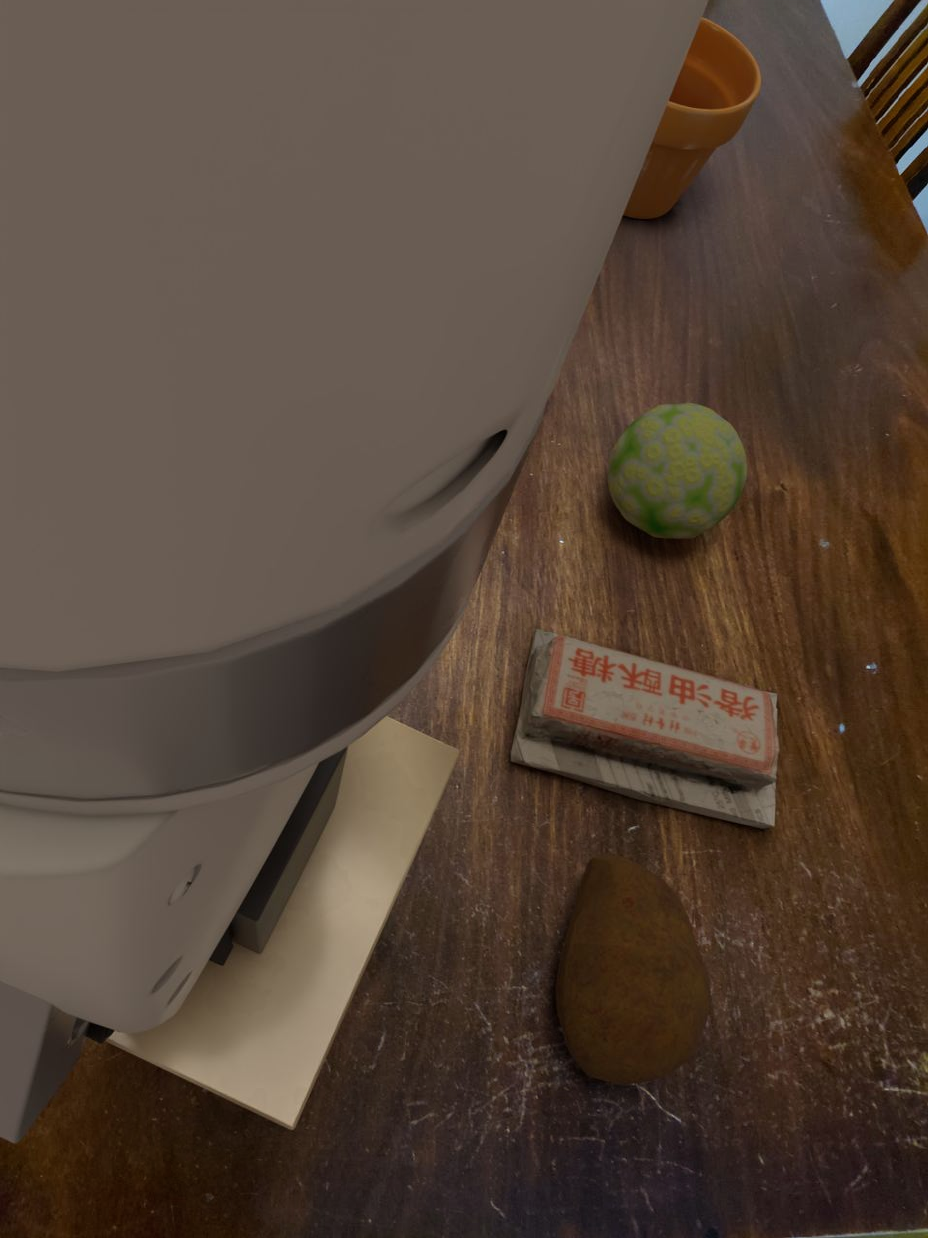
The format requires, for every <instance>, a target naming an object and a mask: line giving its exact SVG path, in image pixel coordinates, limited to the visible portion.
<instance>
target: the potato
mask: <svg viewBox="0 0 928 1238" xmlns="http://www.w3.org/2000/svg"><path fill="white" fill-rule="evenodd" d="M585 866H586V867H585V869H584V873H583V876H582V878H581V882H580V885H579V889H578V891H577V896H576V899H575V903H574V906H573V910H572V913H571V916H570V921H569V923H568V926H567V930H566V933H565V938H564V941H563V944H562V948H561V953H560V959H559V964H558V969H557V976H556V983H555V1002H556V1012H557V1017H558V1020H559V1024H560V1029H561V1033H562V1036H563V1038H564V1041H565V1044H566V1047H567V1050H568V1053H569V1055H570V1056H571V1058H572V1059H573V1060H574V1062H575V1063H576V1064H577V1065H578V1067H579V1068H580V1069H581V1071H582V1072H583V1073H584V1074H585V1075H586V1076H587V1077H590V1078H592V1079H596V1080H600V1081H603V1082H607V1083H611V1084H613V1085H617V1086H622V1087H624V1086H629V1085H635V1084H640V1083H646V1082H650V1081H657V1080H660V1079H664V1078H666V1077H668V1075H671V1074H672V1073H673V1072H674V1071H676V1070H678V1069H679V1068H680V1067H681V1066H683V1065H685V1063H687V1062H689V1061H690V1059H691V1057H692V1055H693V1053H694V1051H695V1049H696V1047H697V1045H698V1043H699V1041H700V1039H701V1037H702V1035H703V1032H704V1028H705V1026H706V1023H707V1020H708V1017H709V1015H710V1006H711V1005H710V1004H711V994H712V992H711V991H712V990H711V989H712V988H711V986H710V985H711V984H710V982H709V977H708V974H707V973H708V972H707V970H706V966H705V963H704V960H703V957H702V955H701V952H700V948H699V947H698V944H697V941H696V938H695V937H696V936H695V934H694V930H693V927H692V924H691V921H690V918H689V915H688V913H687V911H686V908H685V906H684V905H683V903H682V901H681V899H680V897H679V894H678V893H677V892H675V890H674V889H673V888H672V887H671V886H670V885H669V884H668V883H667V882H666V881H665V880H664V879H663V878H662V877H661V876H660V875H659V874H657V873H655V872H654V871H652V870H650V869H648V868H647V867H645V866H643V865H641V864H639V863H637V862H634V861H632V860H630V859H628V858H625V857H624V856H621V855H619V854H616V853H613V852H611V851H610V852H607V853H604V854H600V855H596V856H594V857H593V856H592V858H591V859H589V861H587V863H586V865H585Z"/></svg>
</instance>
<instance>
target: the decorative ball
mask: <svg viewBox="0 0 928 1238" xmlns="http://www.w3.org/2000/svg"><path fill="white" fill-rule="evenodd" d="M609 454H610V455H609V458H608V471H607V484H608V489H609V493H610V496H611V499H612V502H613V504H614V505H615V507H616V509H617V510H618V511H619V512H620V514H621V516H622V517H623V518H624V519H625V521H627V522H628V523H630V524H631V525H633V526H634V527H636V528H637V529H640V530H641V531H643V532H644V533H646V534H648V535H650V536H651V537H653V538H658V539H674V540H675V539H678V540H681V539H683V540H684V539H693V538H695V537H698V536H700V535H702V534H704V533H706V532H708V531H710V530H711V529H713V528H714V527H716V526H717V525H719V524H720V523H721V522H722V521H723V520H724V519H725V518H726V517H727V516H728V515H729V514H730V513H731V511H732V510H733V509H734V508H735V506H736V504H737V503H738V501H739V498H740V497H741V494H742V492H743V490H744V487H745V483H746V482H747V477H748V464H747V463H748V462H747V455H746V451H745V448H744V444H743V442H742V440H741V439H740V436H739V434H738V432H737V431H736V429H735V428H734V426H733V425H732V424H731V423H730V422H729V421H727V420H726V419H724V418H723V417H722V416H720V415H719V413H717V412H716V411H715V410H713V409H712V408H709V407H707V406H704V405H702V404H696V403H695V402H684V403H667V404H665V403H664V404H659V405H657V406H655V407H653V408H651V409H649V410H648V411H646V412H644V413H642V414H641V415H640V416H638V417H637V418H636V419H635V420H633V421H632V423H630V424H629V425H628V426H627V427H626V428H625V429H624V431H623V432H622V433H621V434H620V436H619V437H618V438H617V440H616V442H615V444H614V446H613V448H612V450H611V451H610V453H609Z"/></svg>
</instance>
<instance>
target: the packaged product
mask: <svg viewBox="0 0 928 1238" xmlns="http://www.w3.org/2000/svg"><path fill="white" fill-rule="evenodd" d="M529 651H530V652H529V656H528V660H527V666H526V670H525V673H524V674H525V675H524V681H523V689H522V697H521V703H520V704H521V705H520V709H519V713H518V717H517V722H516V727H515V731H514V735H513V741H512V745H511V750H510V762H511V763H515V764H518V765H521V766H527V767H529V768H533V769H538V770H541V771H546V772H549V773H553V774H555V775H559V776H562V777H565V778H568V779H572V780H574V781H578V782H580V783H584V784H587V785H590V786H593V787H596V788H600V789H603V790H607V791H610V792H613V793H616V794H618V795H622V796H626V797H627V798H628V797H629V798H632V799H635V800H639V801H642V802H647V803H651V804H655V805H659V806H663V807H667V808H668V807H669V808H672V809H676V810H682V811H685V812H690V813H693V814H698V815H703V816H705V817H711V818H715V819H719V820H724V821H728V822H731V823H736V824H741V825H744V826H748V827H753V828H758V829H760V830H761V829H770V828H774V827H775V826H776V824H775V822H776V790H777V789H776V788H777V784H776V783H777V780H778V777H777V771H778V760H779V754H780V751H781V749H780V745H779V744H780V743H779V737H778V735H777V733H778V708H777V701H778V695H779V694H778V693H775V692H769V691H766V690H764V689H758V688H757V687H754V686H752V685H748V684H745V683H739V682H736V681H731V680H729V679H725V678H721V677H717V676H714V675H710V674H706V673H702V672H698V671H696V670H692V669H688V668H685V667H681V666H679V665H678V666H677V665H672V664H669V663H666V662H663V661H659V660H655V659H651V658H648V657H644V656H642V655H641V656H640V655H638V654H635V653H634V654H633V653H630V652H626V651H622V650H618V649H616V648H611V647H608V646H604V645H601V644H597V643H594V642H591V641H585V640H582V639H578V638H575V637H572V636H568V635H564V634H558V633H555V632H551V631H547V630H543V629H540V628H536V629H534V633H533V638H532V643H531V647H530V650H529Z"/></svg>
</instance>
